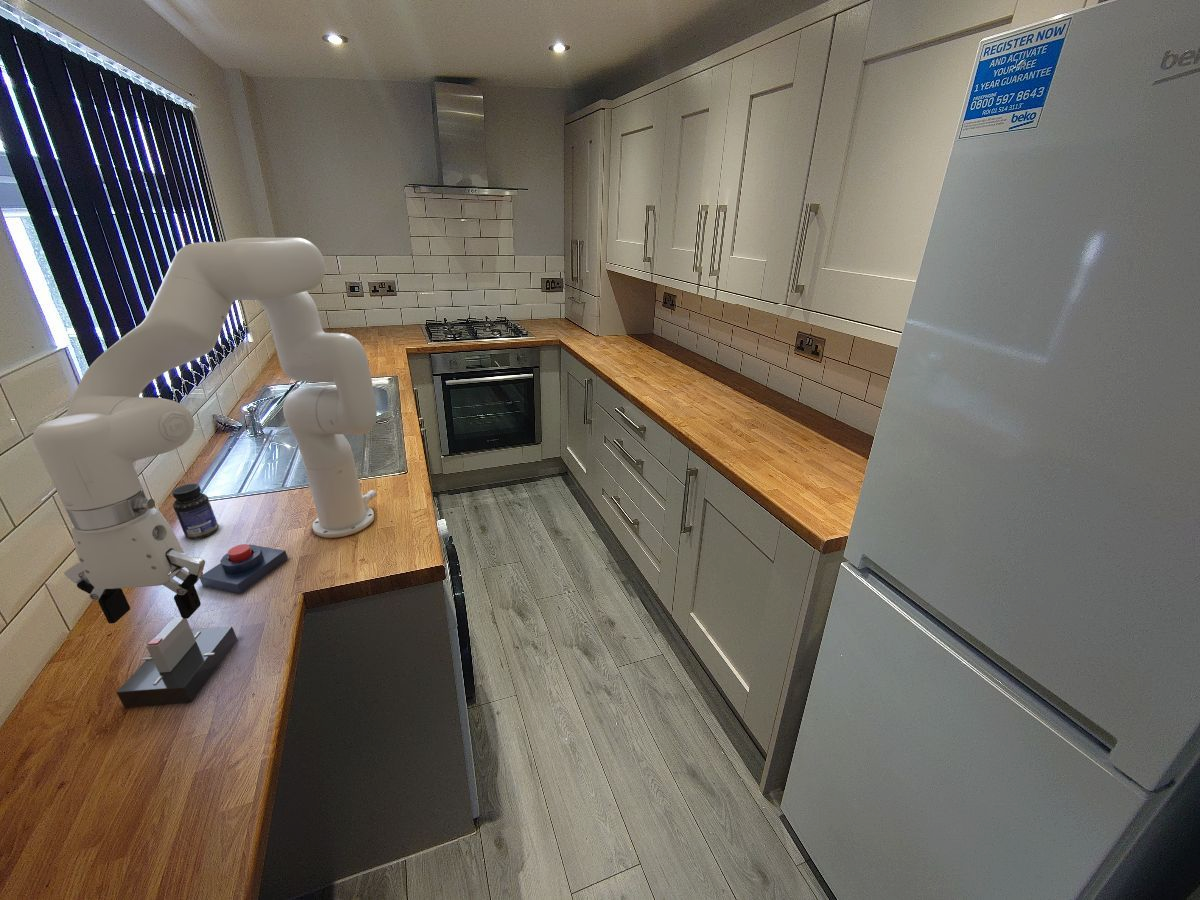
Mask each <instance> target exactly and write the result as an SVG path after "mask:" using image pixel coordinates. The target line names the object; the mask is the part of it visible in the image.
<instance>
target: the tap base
mask: <svg viewBox="0 0 1200 900" xmlns="http://www.w3.org/2000/svg"><path fill="white" fill-rule="evenodd" d="M191 630H192V633H193V635H194V637H195V640H196V642H195V644H194V645H193V646H192V647H191V648H190V649H189V651H188V652H187V653H186V654H185V655H184V656H183V658H182V659H181V660H180V661H179V662H178V664H177V665H176V666H175V667H174V668H173V669H172V671H171V672H162V673H159V672H158V670H157V668H156V666H155V663H154V661H153V659H152V657H151V655H150V654H149V656H147V657H142V658H141V661H143V663H141V665H140V666H139V667H138V668H137V669H136V670H135V671H134V673H132V674H131V675H130V677H129V678H128V679H127V680H126V681H125V682H124V683H123V685H122V686H121V687H120V688H119V689H118V690H117V691H116V695H117V697H118V699H119V701H120V702H121V704H122V706H123V708H125V709H126V708H137V707H138V708H139V707H151V706H162V705H163V706H165V705H176V704H177V705H178V704H189V703H190V704H191V703H193V701H194V700H195V698H196V697H197V696H198V694H199V693H200V691H202V689H203V688H204V687H205V685H206V684H207V682H209V680H210V679H211V677H212V676H213V675H214V673H215V671H216V670H218V668H219V666H220V665H221V663H222V662H223V661H224V659H225V658H226V657H227V656H228V654H229V653H230V651H231V650H232V649H233V648H234V646H235V645H236V644H237V642H238V638H237V635H236V632H235V630H234V627H233V625H232V626H219V627H201V628H191Z"/></svg>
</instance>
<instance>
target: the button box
mask: <svg viewBox="0 0 1200 900" xmlns="http://www.w3.org/2000/svg"><path fill="white" fill-rule="evenodd" d="M248 545H249V546H250V548H251V551H252V556H251V557H249V558H248V559H245V560H242V561H239V562H231V561H230V558H229V555H228V552H227V553H226V554H224V555H223V556H222V557H221V559H220V561H219V562H220V563H218V564H217V565H215V566H214V567H212V568H211V569H209V570H208V571H206V572H204V573H203V575H202V576H201V577H200V578H199V581H200V583H201V585H202V587H204V588H209V589H215V590H219V591H225V592H228V593H232V594H233V593H234V594H239V595H241V594H243V593H244V592H245V591H247V590H249V588H251V587H252V586H254V585H255V584H256V583H258V582H259V581H261V580H262V579H263V578H265V577H266V576H268V575H269V574H271V573H272V572H273V571H274V570H276V569H277V568H278V567H280V566H281V565H282V564H284V563H285V562H287V561H288V560H289V558H288V554H287V551H286V550H284V549H279V548H274V547H269V546H261V545H256V544H251V543H249V544H248Z"/></svg>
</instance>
